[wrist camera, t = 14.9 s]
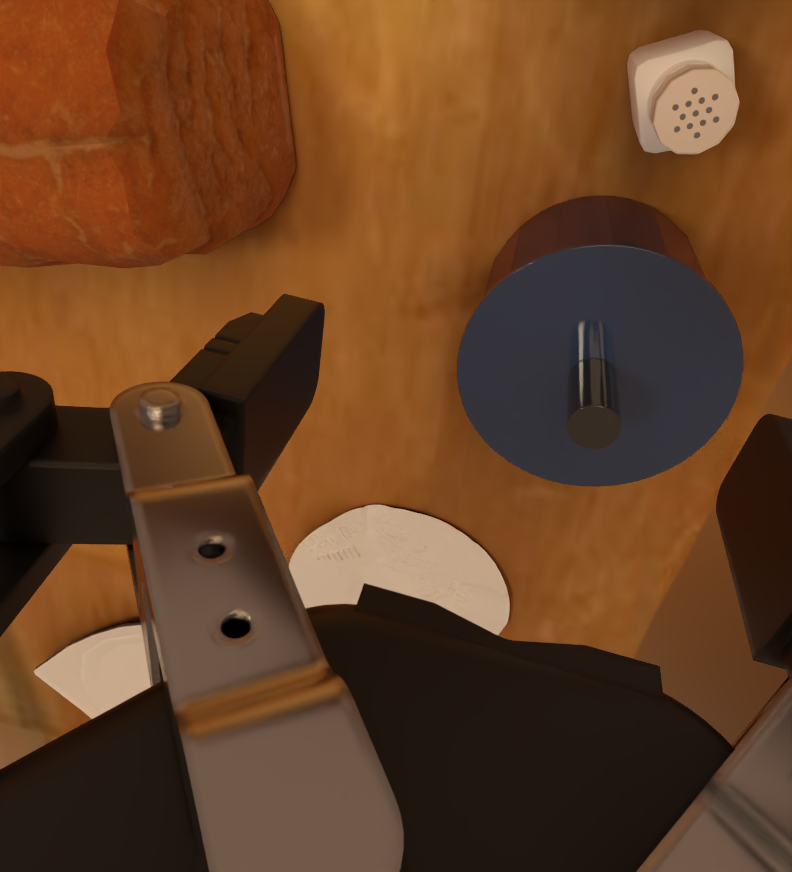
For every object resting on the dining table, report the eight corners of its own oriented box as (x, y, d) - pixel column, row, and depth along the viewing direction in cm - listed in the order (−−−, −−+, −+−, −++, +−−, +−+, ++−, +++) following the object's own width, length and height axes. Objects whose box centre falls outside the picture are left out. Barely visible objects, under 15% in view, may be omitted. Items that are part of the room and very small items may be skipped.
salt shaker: (624, 49, 34) (638, 74, 27) (710, 24, 33) (750, 42, 25) (632, 132, 36) (647, 176, 29) (714, 111, 35) (752, 152, 27)
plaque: (249, 564, 63) (243, 576, 62) (403, 466, 53) (400, 478, 51) (394, 678, 69) (391, 691, 68) (556, 611, 59) (556, 625, 58)
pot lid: (749, 216, 29) (779, 261, 25) (730, 471, 36) (752, 541, 32) (439, 257, 33) (417, 302, 29) (478, 478, 40) (466, 542, 36)
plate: (351, 751, 78) (345, 773, 76) (189, 779, 92) (180, 799, 89) (187, 588, 67) (175, 608, 65) (31, 648, 81) (17, 666, 79)
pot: (705, 178, 37) (738, 233, 29) (697, 382, 43) (722, 470, 36) (473, 213, 40) (449, 269, 33) (499, 395, 47) (484, 477, 40)
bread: (-143, -27, 40) (-449, -25, 28) (273, -56, 35) (111, -67, 23) (-46, 208, 48) (-254, 289, 36) (305, 215, 43) (198, 313, 31)
